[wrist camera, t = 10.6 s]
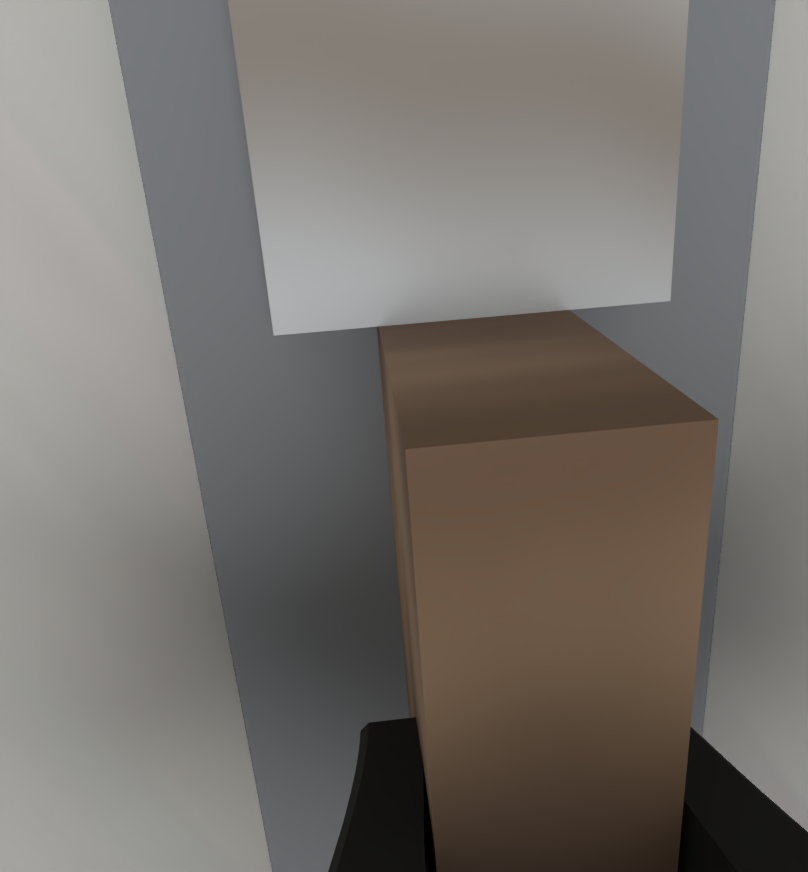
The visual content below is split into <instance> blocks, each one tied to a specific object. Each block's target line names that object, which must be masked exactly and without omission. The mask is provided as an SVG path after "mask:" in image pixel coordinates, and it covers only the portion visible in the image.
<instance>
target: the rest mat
mask: <svg viewBox="0 0 808 872" xmlns="http://www.w3.org/2000/svg"><path fill="white" fill-rule="evenodd" d="M108 1H109V7H110V12H111V17H112V22H113V28H114V33H115V38H116V44H117V49H118V54H119V60H120V65H121V70H122V76H123V81H124V86H125V91H126V97H127V102H128V107H129V113H130V118H131V123H132V129H133V134H134V139H135V145H136V150H137V155H138V160H139V166H140V171H141V176H142V182H143V187H144V192H145V198H146V203H147V208H148V214H149V219H150V224H151V229H152V235H153V240H154V245H155V251H156V256H157V261H158V267H159V272H160V277H161V283H162V288H163V293H164V298H165V304H166V309H167V314H168V320H169V325H170V330H171V336H172V341H173V346H174V352H175V357H176V362H177V368H178V373H179V378H180V383H181V389H182V394H183V399H184V405H185V410H186V415H187V421H188V426H189V431H190V437H191V442H192V447H193V452H194V458H195V463H196V468H197V474H198V479H199V484H200V490H201V495H202V500H203V506H204V511H205V516H206V521H207V527H208V532H209V537H210V543H211V548H212V553H213V559H214V564H215V569H216V575H217V580H218V585H219V590H220V596H221V601H222V606H223V612H224V617H225V622H226V628H227V633H228V638H229V644H230V649H231V654H232V659H233V665H234V670H235V675H236V681H237V686H238V691H239V697H240V702H241V707H242V713H243V718H244V723H245V728H246V734H247V739H248V744H249V750H250V755H251V760H252V766H253V771H254V776H255V782H256V787H257V792H258V797H259V803H260V808H261V813H262V819H263V824H264V829H265V835H266V840H267V845H268V851H269V856H270V861H271V866H272V872H328V871H329V867H330V864H331V861H332V857H333V854H334V851H335V848H336V844H337V841H338V838H339V834H340V831H341V828H342V824H343V821H344V817H345V813H346V809H347V805H348V801H349V797H350V793H351V789H352V785H353V780H354V775H355V770H356V765H357V759H358V752H359V745H360V731H361V730H362V729H363V728H364V727H365V726H366V725H367V724H368V723H369V722H378V721H386V720H395V719H404V718H410V715H409V703H408V691H407V680H406V668H405V656H404V644H403V632H402V620H401V609H400V597H399V585H398V573H397V561H396V549H395V538H394V526H393V514H392V502H391V490H390V478H389V467H388V455H387V443H386V431H385V419H384V407H383V395H382V384H381V372H380V360H379V348H378V336H377V327H367V328H355V329H344V330H333V331H321V332H310V333H298V334H287V335H275V336H274V334H273V327H272V320H271V312H270V305H269V298H268V290H267V283H266V276H265V268H264V261H263V254H262V246H261V239H260V232H259V225H258V217H257V210H256V203H255V195H254V188H253V181H252V173H251V166H250V159H249V152H248V144H247V137H246V130H245V122H244V115H243V108H242V100H241V93H240V86H239V78H238V71H237V64H236V57H235V49H234V42H233V35H232V27H231V20H230V13H229V5H228V0H108ZM775 1H776V0H689V11H688V27H687V43H686V59H685V75H684V91H683V107H682V123H681V139H680V155H679V171H678V187H677V203H676V219H675V235H674V251H673V267H672V283H671V299H670V301H665V302H654V303H642V304H631V305H619V306H608V307H596V308H585V309H573V310H570V311H571V312H573V313H574V314H576V315H577V316H578V317H580V318H581V319H582V320H584V321H585V322H587V323H588V324H589V325H591V326H592V327H593V328H595V329H596V330H597V331H599V332H600V333H602V334H603V335H604V336H606V337H607V338H608V339H610V340H611V341H612V342H614V343H615V344H617V345H618V346H619V347H621V348H622V349H623V350H625V351H626V352H628V353H629V354H630V355H632V356H633V357H634V358H636V359H637V360H638V361H640V362H641V363H643V364H644V365H645V366H647V367H648V368H649V369H651V370H652V371H653V372H655V373H656V374H658V375H659V376H660V377H662V378H663V379H664V380H666V381H667V382H668V383H670V384H671V385H673V386H674V387H675V388H677V389H678V390H679V391H681V392H682V393H684V394H685V395H686V396H688V397H689V398H690V399H692V400H693V401H694V402H696V403H697V404H699V405H700V406H701V407H703V408H704V409H705V410H707V411H708V412H709V413H711V414H712V415H714V416H715V417H716V418H718V419H719V424H718V435H717V446H716V456H715V467H714V478H713V489H712V500H711V511H710V522H709V533H708V543H707V554H706V565H705V576H704V587H703V598H702V609H701V620H700V630H699V641H698V652H697V663H696V674H695V685H694V696H693V707H692V717H691V727H692V728H693V729H694V730H695V731H696V732H697V733H698V734H700V735H701V736H702V732H703V722H704V712H705V702H706V692H707V682H708V672H709V662H710V652H711V642H712V632H713V622H714V612H715V602H716V592H717V582H718V572H719V562H720V552H721V542H722V532H723V522H724V512H725V502H726V492H727V482H728V472H729V462H730V452H731V441H732V431H733V421H734V411H735V401H736V391H737V381H738V371H739V361H740V351H741V341H742V331H743V321H744V311H745V301H746V291H747V281H748V271H749V261H750V251H751V241H752V231H753V221H754V211H755V201H756V191H757V181H758V171H759V161H760V151H761V141H762V131H763V121H764V111H765V101H766V91H767V81H768V71H769V61H770V51H771V41H772V31H773V21H774V11H775Z"/></svg>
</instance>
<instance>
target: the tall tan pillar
mask: <svg viewBox="0 0 808 872" xmlns="http://www.w3.org/2000/svg"><path fill="white" fill-rule="evenodd" d="M228 5H229V13H230V20H231V27H232V35H233V42H234V49H235V57H236V64H237V71H238V78H239V86H240V93H241V100H242V108H243V115H244V122H245V130H246V137H247V144H248V152H249V159H250V166H251V173H252V181H253V188H254V195H255V203H256V210H257V217H258V225H259V232H260V239H261V246H262V254H263V261H264V268H265V276H266V283H267V290H268V298H269V305H270V312H271V320H272V327H273V334H274V336H275V335H287V334H298V333H310V332H321V331H333V330H344V329H355V328H367V327H377V336H378V348H379V360H380V372H381V384H382V395H383V407H384V419H385V431H386V443H387V455H388V467H389V478H390V490H391V502H392V514H393V526H394V538H395V549H396V561H397V573H398V585H399V597H400V609H401V620H402V632H403V644H404V656H405V668H406V680H407V691H408V703H409V715H410V718H413V717H416V722H417V728H418V734H419V740H420V747H421V754H422V760H423V769H424V782H425V794H426V807H427V820H428V833H429V846H430V858H431V871H432V872H677V870H678V859H679V848H680V837H681V826H682V815H683V804H684V794H685V783H686V772H687V761H688V750H689V739H690V728H691V717H692V707H693V696H694V685H695V674H696V663H697V652H698V641H699V630H700V620H701V609H702V598H703V587H704V576H705V565H706V554H707V543H708V533H709V522H710V511H711V500H712V489H713V478H714V467H715V456H716V446H717V435H718V424H719V419H718V418H716V417H715V416H714V415H712V414H711V413H709V412H708V411H707V410H705V409H704V408H703V407H701V406H700V405H699V404H697V403H696V402H694V401H693V400H692V399H690V398H689V397H688V396H686V395H685V394H684V393H682V392H681V391H679V390H678V389H677V388H675V387H674V386H673V385H671V384H670V383H668V382H667V381H666V380H664V379H663V378H662V377H660V376H659V375H658V374H656V373H655V372H653V371H652V370H651V369H649V368H648V367H647V366H645V365H644V364H643V363H641V362H640V361H638V360H637V359H636V358H634V357H633V356H632V355H630V354H629V353H628V352H626V351H625V350H623V349H622V348H621V347H619V346H618V345H617V344H615V343H614V342H612V341H611V340H610V339H608V338H607V337H606V336H604V335H603V334H602V333H600V332H599V331H597V330H596V329H595V328H593V327H592V326H591V325H589V324H588V323H587V322H585V321H584V320H582V319H581V318H580V317H578V316H577V315H576V314H574V313H573V312H571V311H570V310H573V309H585V308H596V307H608V306H619V305H631V304H642V303H654V302H665V301H670V299H671V283H672V267H673V251H674V235H675V219H676V203H677V187H678V171H679V155H680V139H681V123H682V107H683V91H684V75H685V59H686V43H687V27H688V11H689V0H228Z"/></svg>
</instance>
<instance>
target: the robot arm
mask: <svg viewBox="0 0 808 872" xmlns="http://www.w3.org/2000/svg"><path fill="white" fill-rule="evenodd" d="M328 872H432V871H431V858H430V846H429V833H428V820H427V807H426V794H425V782H424V769H423V760H422V754H421V747H420V740H419V734H418V728H417V722H416V717H413V718H404V719H395V720H386V721H378V722H369V723H368V724H367V725H366V726H365V727H364V728H363V729H362V730H361V731H360V745H359V752H358V759H357V765H356V770H355V775H354V780H353V785H352V789H351V793H350V797H349V801H348V805H347V809H346V813H345V817H344V821H343V824H342V828H341V831H340V834H339V838H338V841H337V844H336V848H335V851H334V854H333V857H332V861H331V864H330V867H329V871H328ZM677 872H808V832H807V831H806V830H805V829H804V828H802V827H801V826H800V825H799V824H798V823H797V822H796V821H794V820H793V819H792V818H791V817H790V816H789V815H788V814H786V813H785V812H784V811H783V810H782V809H781V808H780V807H778V806H777V805H776V804H775V803H774V802H773V801H772V800H770V799H769V798H768V797H767V796H766V795H765V794H764V793H762V792H761V791H760V790H759V789H758V788H757V787H756V786H755V785H754V784H752V783H751V782H750V781H749V780H748V779H747V778H746V777H745V776H744V775H742V774H741V773H740V772H739V771H738V770H737V769H736V768H735V767H734V766H733V765H732V764H731V763H729V762H728V761H727V760H726V759H725V758H724V757H723V756H722V755H721V754H720V753H719V752H718V751H717V750H715V749H714V748H713V747H712V746H711V745H710V744H709V743H708V742H707V741H706V740H705V739H704V738H703V737H702V736H701V735H700V734H698V733H697V732H696V731H695V730H694V729H693V728H692V727H691V728H690V739H689V750H688V761H687V772H686V783H685V794H684V804H683V815H682V826H681V837H680V848H679V859H678V870H677Z"/></svg>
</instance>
